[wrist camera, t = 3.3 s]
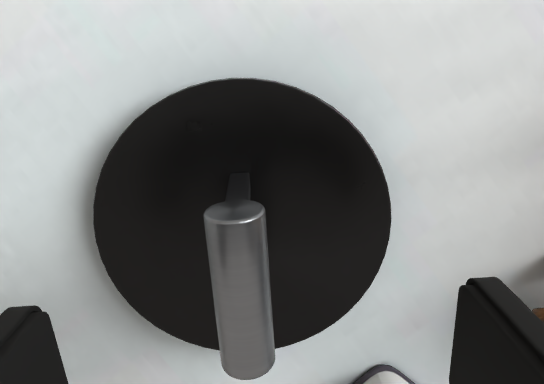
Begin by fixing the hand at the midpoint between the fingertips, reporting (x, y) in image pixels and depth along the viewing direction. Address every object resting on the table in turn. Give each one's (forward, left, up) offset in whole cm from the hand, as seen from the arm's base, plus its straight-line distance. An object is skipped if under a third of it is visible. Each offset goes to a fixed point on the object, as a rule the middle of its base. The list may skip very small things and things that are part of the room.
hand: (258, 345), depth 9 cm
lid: (0, 0, -7) cm, 7 cm away
